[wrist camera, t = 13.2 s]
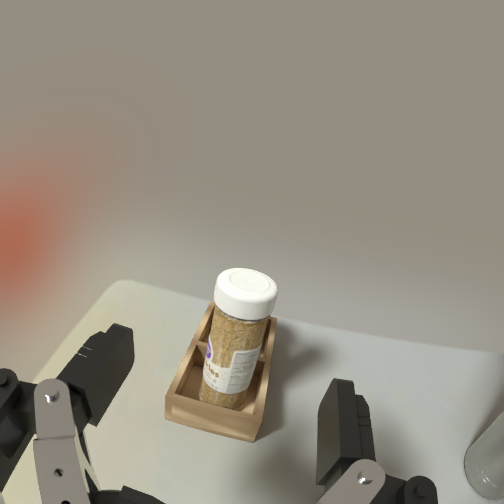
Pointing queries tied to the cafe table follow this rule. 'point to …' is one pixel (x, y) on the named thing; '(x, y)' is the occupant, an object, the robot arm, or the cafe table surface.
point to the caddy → (211, 416)
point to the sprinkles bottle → (236, 335)
